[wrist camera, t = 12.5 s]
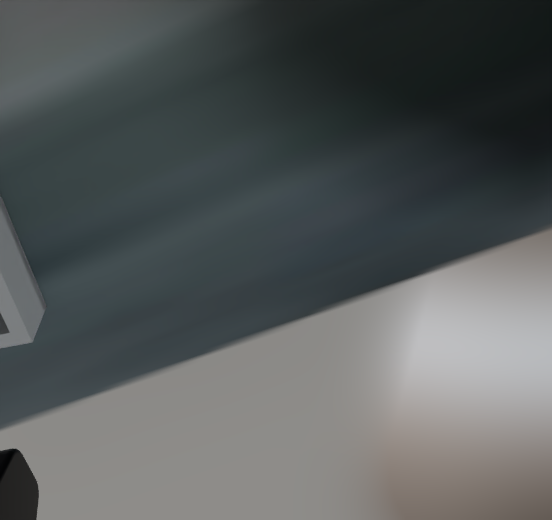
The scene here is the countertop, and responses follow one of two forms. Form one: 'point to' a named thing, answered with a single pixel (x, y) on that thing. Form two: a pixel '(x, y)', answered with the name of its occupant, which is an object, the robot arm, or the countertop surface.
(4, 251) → the gray tray
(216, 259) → the countertop surface
